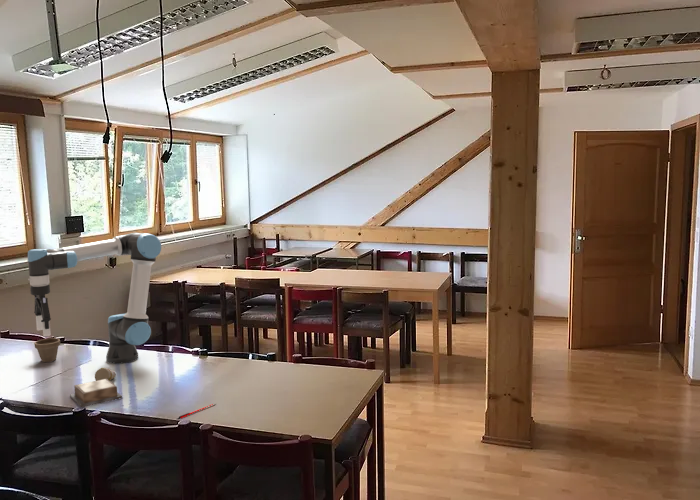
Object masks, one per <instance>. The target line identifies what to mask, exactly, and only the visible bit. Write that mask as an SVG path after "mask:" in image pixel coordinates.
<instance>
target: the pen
mask: <svg viewBox="0 0 700 500" xmlns="http://www.w3.org/2000/svg"><path fill="white" fill-rule="evenodd" d="M213 404H214V403H212V404H210V405H208V406H211V405H213ZM208 406H207V405H206V406H205V407H202V408H199V409H197V410H193V411H192V412H186V413H185V414H182V415H180V416H178V418H176V419H178V420H181V419H183V417H184V418H186V417H188V416H187V415H189V416H190V414H192V413H194V412H196V411H199V410H201V409H204V408H206V407H208ZM204 410H205V409H204ZM199 412H200V411H199ZM194 414H195V413H194ZM192 415H193V414H192ZM180 418H181V419H180Z"/></svg>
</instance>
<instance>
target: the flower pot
mask: <svg viewBox="0 0 700 500" xmlns="http://www.w3.org/2000/svg"><path fill="white" fill-rule="evenodd" d="M60 345H61V340H60V338H56V337H54V338H53V337H52V338H50V337H49V338H43V339H39V340H37V341H35V342H34V348H35V349H37V352H38V355H39V358H40V361H41V362H42V363H50V362H54V361H55V360H57V356H58V350H59V347H60Z"/></svg>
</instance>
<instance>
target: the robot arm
mask: <svg viewBox="0 0 700 500" xmlns="http://www.w3.org/2000/svg"><path fill="white" fill-rule="evenodd" d="M161 252H162V243H161V240H160V239H159V238H158V237H157V236H156V235H154V234H151V233H148V232H147V233H146V232H145V233H144V232H130V233H127V234H123V235H122V234H121V235H116V236H113V237H112V239H106V240H99V241H94V242H88V243H83V244H82V243H81V244H77V245H71V246H65V247H59V248H47V249H46V248H34V249H33V248H32V249H29V250H28V251H27V264H28V274H29V278H27V280H28V281H29V285H30V287H29V289H30V295H31V296H34V307H33V309H34V316H35V323H36V324H35V325H36V331H42V336H43V338H45V337H50V336H51V335H52V334H51V323H50V322H51V320H52V318H51V314H50V307H49V303H48V302H49V301H48V297H46V295H47V294H48V295H49V294H50V293H51V286H50V285H49V284H50V282H51V281H50V273H49V272H50V271H53V270H62V269H70V268H75V267H76V266H77V264H78V262H81V261H86V260H92V259H96V258H103V257H107V256H113V255H116V256H130V258H129V259H130V261H131V262H132V270H131V271H132V272H131V278H130V287H129V295H128V303H127V312H125V313H119V314H113V315H110V316H109V317H108V318H107V327H108V328H107V331H108V350H107V352H106V357H105V360H106V362H107V363H109V364H126V363H130V362H134V361H137V360H138V359H139V351H138V349H137V347H136V346H141V345H143V344H145V343H146V342H147V341H148V340H149V339H150V337H151V334H152V329H151V326H150V325H149V316H148V315H147V305H148V297H149V289H150V281H151V274H152V266H153V265H154V264H155V263H156V262H157V261H156V259H157V257H158V256H159V255H160V253H161Z"/></svg>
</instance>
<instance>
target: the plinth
mask: <svg viewBox="0 0 700 500" xmlns="http://www.w3.org/2000/svg"><path fill="white" fill-rule="evenodd" d="M73 387H74V393H72V394H69V397H70V398H71V399H72V400H73V401H74V402H75V403H76V404H77V405H78V407H80V408H81V407H82V408H86V407H91V406H94V405H95V406H96V405H100V404H104V403H108V402H111V401H112V400H113V401H116V400H115V399H117V400H120V399H119V398H121V399H123V395H122V394H120V393H119V392H118V386H117V385H116V384H114V383H113V382H112V381H111V380H110V381H109V380H108V379H103V380H98V381H96V380H94V381H89V382H84V383H80V384H75V385H73Z"/></svg>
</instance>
